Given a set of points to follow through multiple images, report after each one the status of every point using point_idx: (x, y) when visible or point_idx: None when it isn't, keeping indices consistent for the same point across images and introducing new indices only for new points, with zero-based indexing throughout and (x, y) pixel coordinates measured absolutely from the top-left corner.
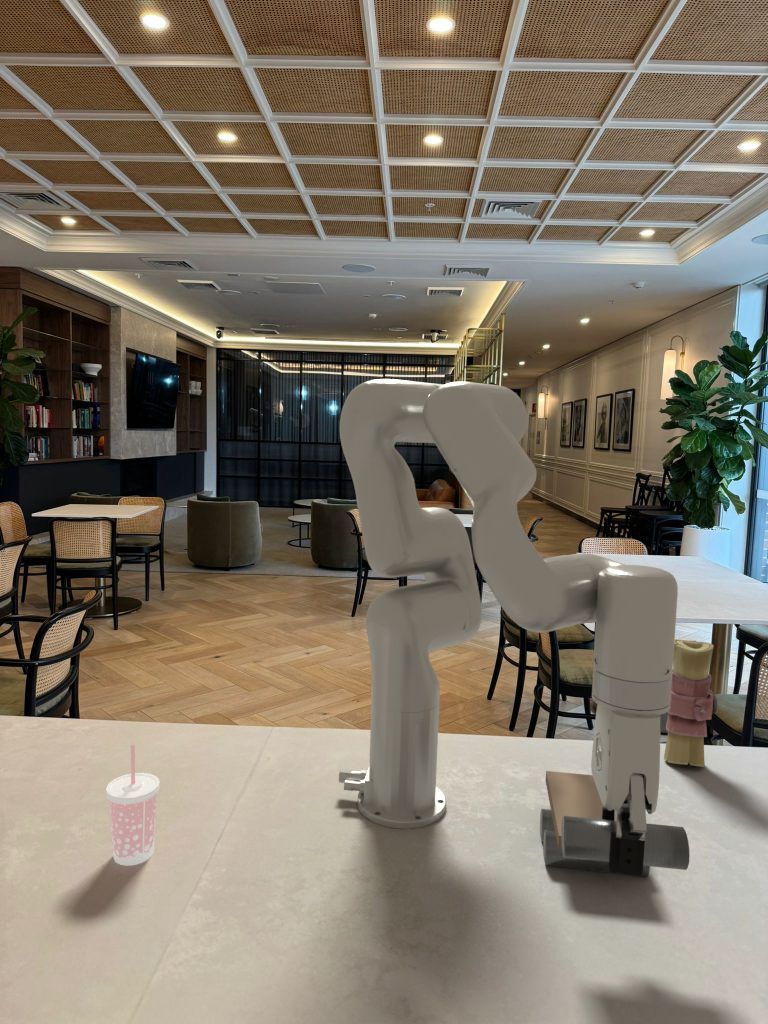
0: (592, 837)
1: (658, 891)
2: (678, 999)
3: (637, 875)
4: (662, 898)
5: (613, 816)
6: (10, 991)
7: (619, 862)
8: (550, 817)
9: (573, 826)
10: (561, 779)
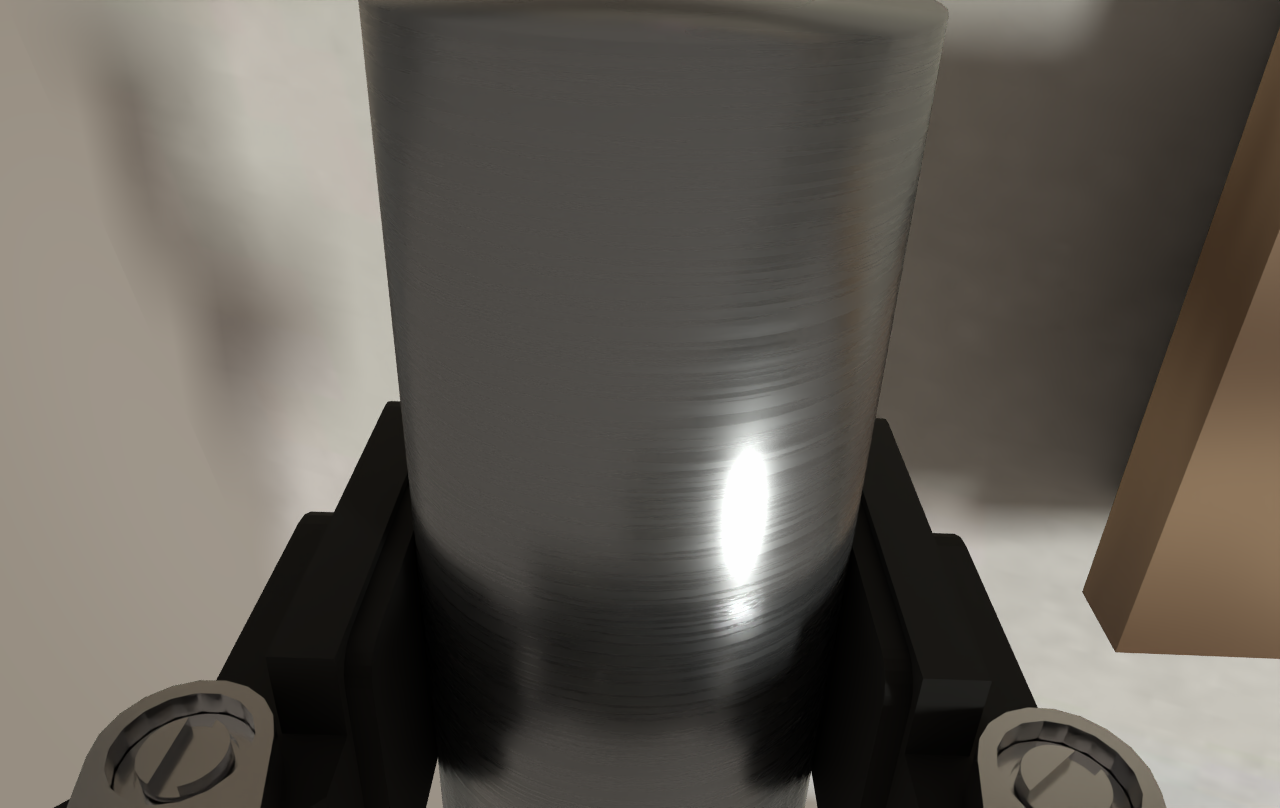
0: (417, 388)
1: (1017, 521)
2: (307, 415)
3: None
4: (963, 524)
5: (861, 719)
6: None
7: (313, 527)
8: None
9: (475, 170)
10: None
